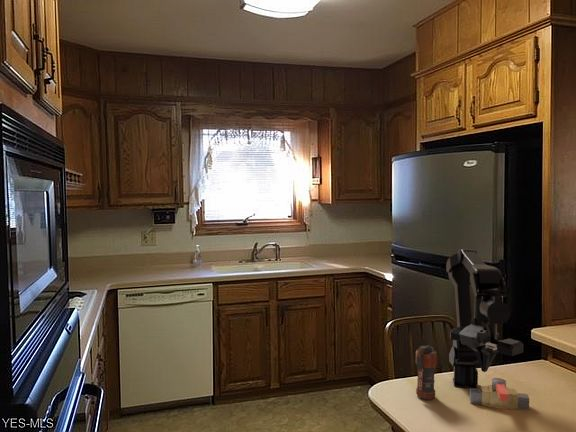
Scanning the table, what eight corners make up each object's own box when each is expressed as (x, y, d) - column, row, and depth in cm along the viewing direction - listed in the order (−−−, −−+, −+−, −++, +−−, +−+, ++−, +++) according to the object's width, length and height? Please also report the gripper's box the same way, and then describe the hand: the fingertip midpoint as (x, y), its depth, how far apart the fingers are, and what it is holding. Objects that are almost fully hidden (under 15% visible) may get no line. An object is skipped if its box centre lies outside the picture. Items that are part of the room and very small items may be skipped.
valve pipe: (470, 404, 135) (471, 389, 134) (469, 397, 140) (469, 382, 139) (529, 411, 131) (530, 395, 130) (526, 403, 136) (526, 388, 135)
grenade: (408, 398, 139) (409, 347, 138) (421, 390, 144) (422, 341, 144) (427, 404, 135) (428, 351, 134) (440, 396, 140) (440, 345, 140)
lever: (491, 385, 137) (491, 377, 137) (504, 386, 136) (504, 378, 136) (496, 400, 127) (496, 392, 127) (511, 402, 126) (511, 393, 126)
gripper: (437, 311, 133) (436, 367, 134) (500, 326, 118) (498, 389, 119) (462, 306, 140) (461, 359, 140) (525, 320, 124) (523, 380, 125)
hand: (484, 371), depth 131 cm, fingers closed
